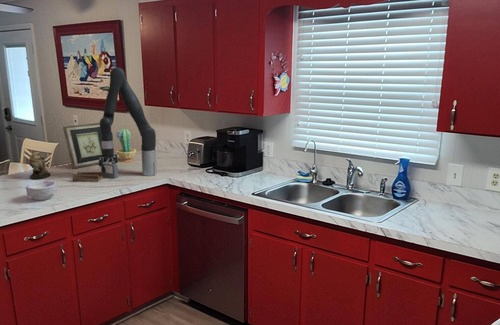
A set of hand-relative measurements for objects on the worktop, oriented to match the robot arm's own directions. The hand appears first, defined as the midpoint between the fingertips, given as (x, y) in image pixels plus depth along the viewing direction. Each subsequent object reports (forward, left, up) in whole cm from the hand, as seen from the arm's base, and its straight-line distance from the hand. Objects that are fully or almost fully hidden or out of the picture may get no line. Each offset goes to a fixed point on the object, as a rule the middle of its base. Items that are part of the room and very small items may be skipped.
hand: (108, 171), depth 275 cm
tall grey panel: (0, 0, -4) cm, 4 cm away
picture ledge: (+12, +7, -4) cm, 14 cm away
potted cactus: (+1, -51, -4) cm, 51 cm away
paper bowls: (+24, +46, -4) cm, 52 cm away
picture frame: (+25, -37, -4) cm, 45 cm away
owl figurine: (+46, -1, -4) cm, 46 cm away
